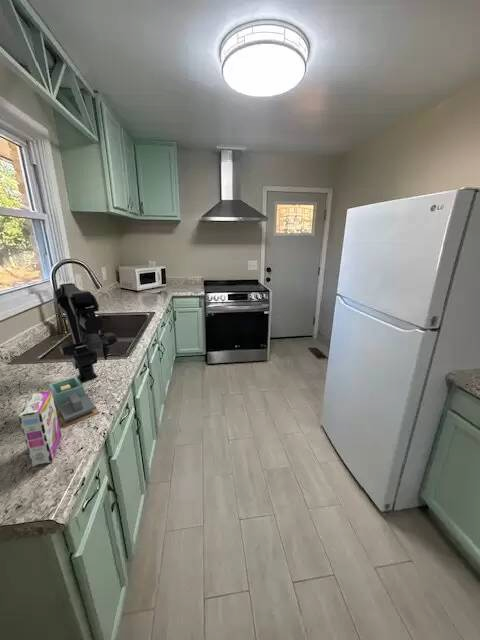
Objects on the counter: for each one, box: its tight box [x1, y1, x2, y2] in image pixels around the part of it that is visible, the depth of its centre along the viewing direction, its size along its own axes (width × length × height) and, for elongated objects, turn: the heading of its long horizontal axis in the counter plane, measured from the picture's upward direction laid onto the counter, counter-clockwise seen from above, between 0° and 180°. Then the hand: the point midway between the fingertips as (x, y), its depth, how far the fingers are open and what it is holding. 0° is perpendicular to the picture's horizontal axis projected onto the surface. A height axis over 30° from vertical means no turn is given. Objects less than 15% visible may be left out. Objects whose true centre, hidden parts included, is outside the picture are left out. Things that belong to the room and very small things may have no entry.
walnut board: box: [56, 397, 101, 428], centre depth 95 cm, size 12×11×1 cm
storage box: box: [48, 376, 86, 408], centre depth 102 cm, size 10×9×6 cm
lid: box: [56, 392, 97, 421], centre depth 94 cm, size 10×9×6 cm
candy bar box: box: [18, 390, 62, 468], centre depth 75 cm, size 11×5×16 cm, turn 21°
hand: (93, 363), depth 105 cm, fingers open, 9 cm apart
